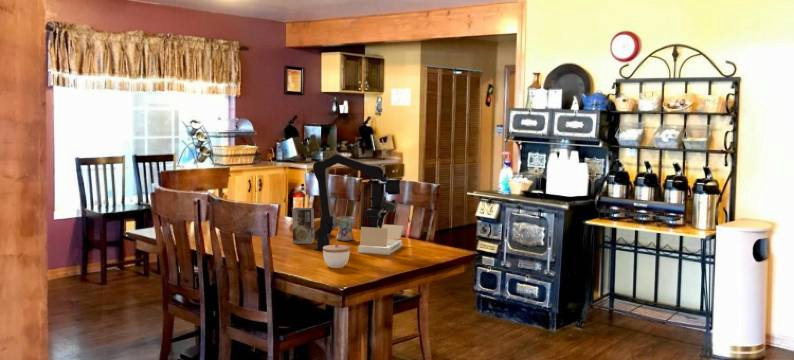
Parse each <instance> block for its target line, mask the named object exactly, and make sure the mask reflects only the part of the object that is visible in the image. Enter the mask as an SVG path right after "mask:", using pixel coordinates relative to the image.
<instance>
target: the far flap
mask: <svg viewBox="0 0 794 360" xmlns="http://www.w3.org/2000/svg"><path fill="white" fill-rule="evenodd" d="M377 228H379V226H378V225H377ZM382 228H388V233H387V239H393V240H401V237H402V233H403V230H404V225H400V224H399V225H398V224H384V223H383V225H382Z"/></svg>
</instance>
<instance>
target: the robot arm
mask: <svg viewBox="0 0 794 360" xmlns="http://www.w3.org/2000/svg"><path fill="white" fill-rule="evenodd" d="M337 164H339V165H342V166H345V167H347V168H350V169H352V170H356V171H359V172H362V173H363V174H365V175H367V176H368V177H370V178H369V180H368V181H367V182H366V185H370V197H369V201H370V203H371V205H370V206H369V208H367V209H365V211H364V217H366V218H367V220H368V222H369V224H370V226H371V227H372V228H378V226H379V228H382V225H383V224H384V220H385V217H386V216H387V214H389V212H390V213H394V212H396V211H397V208H398V202H397V200H396V199H392V200H388V199H387V197H386V196H385V193H386V194H387V195H391V196H394V195H395V196H397V195H398V196H401V195H402V183H401V179H400V178H397V179H390V178H389V176H388V175H387V174H386V170H385V168H384V167H383V166H382V165H377V164H373V163H372V164H371V163H365V162H364V161H363V162H362V161H360V160H357V159H354V158H351V157H348V156H345V155H343V154H341V153H336V154H333V155H332V156H331V157H328V158H326V159H320V160H317V161H315V162H314V163H313V166H312V169H313V173H314V176H315V179H316V181H317V186H318V194H319V203H320V210H321V214H320V218H321V219H320V228H319V229H318V230H317V231H316V232H315V235H316V237H315V238H316V244H317V245H316V248H314V249H313V250H314V251H323V247H324V246H327V245H331V236H330V235H331V234H332V232H333V231H334V230H335V229H336V226H337V221H336V217H337V215H336V214H333V213H332V210H331V209H332V208H331V199H330V192H329V191H330V189H329V183H328V179H329V173H330V168H331V167H333V166H335V165H337Z"/></svg>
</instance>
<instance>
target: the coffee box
mask: <svg viewBox="0 0 794 360" xmlns="http://www.w3.org/2000/svg"><path fill="white" fill-rule="evenodd" d="M291 211H292V223H293V233H292V244H299V245H300V244H303V245H304V244H306V245H307V244H308V245H309V244H310V245H312V244H313V243H314V242H315V237H314V219H315V208H314V207H294V208H293V209H292V210H291Z"/></svg>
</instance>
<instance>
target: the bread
mask: <svg viewBox="0 0 794 360" xmlns="http://www.w3.org/2000/svg"><path fill="white" fill-rule="evenodd" d="M320 219H321V217H317V218H315V217H314V238H317V237H316V235H315V232H316V231H317V230H318V229H319V228H320ZM288 230H289V231H290V232H291V233H292V234H293V222H291V224H290V225H289V228H288Z"/></svg>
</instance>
